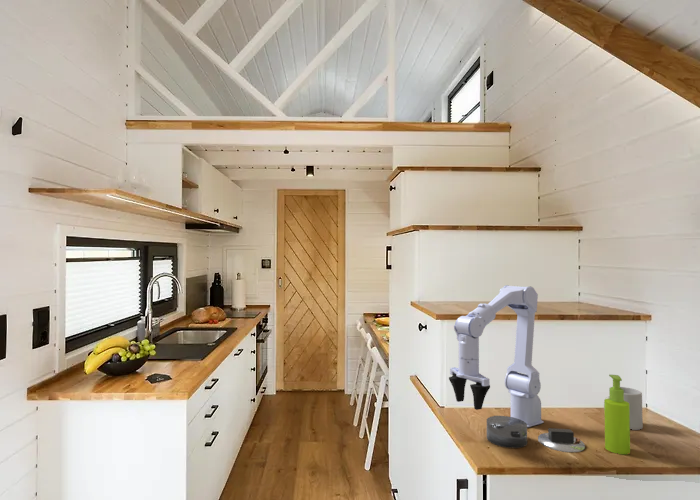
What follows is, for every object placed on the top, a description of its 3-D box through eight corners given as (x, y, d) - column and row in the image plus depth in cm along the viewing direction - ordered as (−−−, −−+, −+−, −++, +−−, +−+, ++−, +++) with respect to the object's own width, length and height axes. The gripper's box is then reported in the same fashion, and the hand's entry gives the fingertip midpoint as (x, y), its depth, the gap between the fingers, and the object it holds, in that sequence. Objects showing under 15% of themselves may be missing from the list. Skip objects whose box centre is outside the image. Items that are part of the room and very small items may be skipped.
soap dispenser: (625, 445, 119) (624, 374, 120) (633, 455, 113) (631, 380, 114) (601, 442, 121) (600, 372, 122) (607, 452, 115) (606, 378, 116)
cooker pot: (479, 430, 129) (479, 414, 130) (515, 430, 130) (514, 413, 130) (497, 450, 115) (497, 431, 116) (536, 450, 116) (536, 431, 116)
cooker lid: (532, 435, 127) (532, 421, 128) (574, 437, 126) (574, 423, 126) (546, 452, 116) (546, 437, 116) (592, 455, 114) (592, 440, 114)
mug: (627, 419, 140) (626, 386, 141) (649, 429, 132) (649, 393, 132) (595, 421, 138) (594, 387, 139) (615, 431, 130) (615, 395, 130)
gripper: (441, 354, 128) (442, 399, 128) (475, 364, 115) (475, 415, 115) (460, 352, 131) (460, 396, 131) (495, 362, 118) (495, 411, 118)
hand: (468, 405), depth 123 cm, fingers open, 7 cm apart
